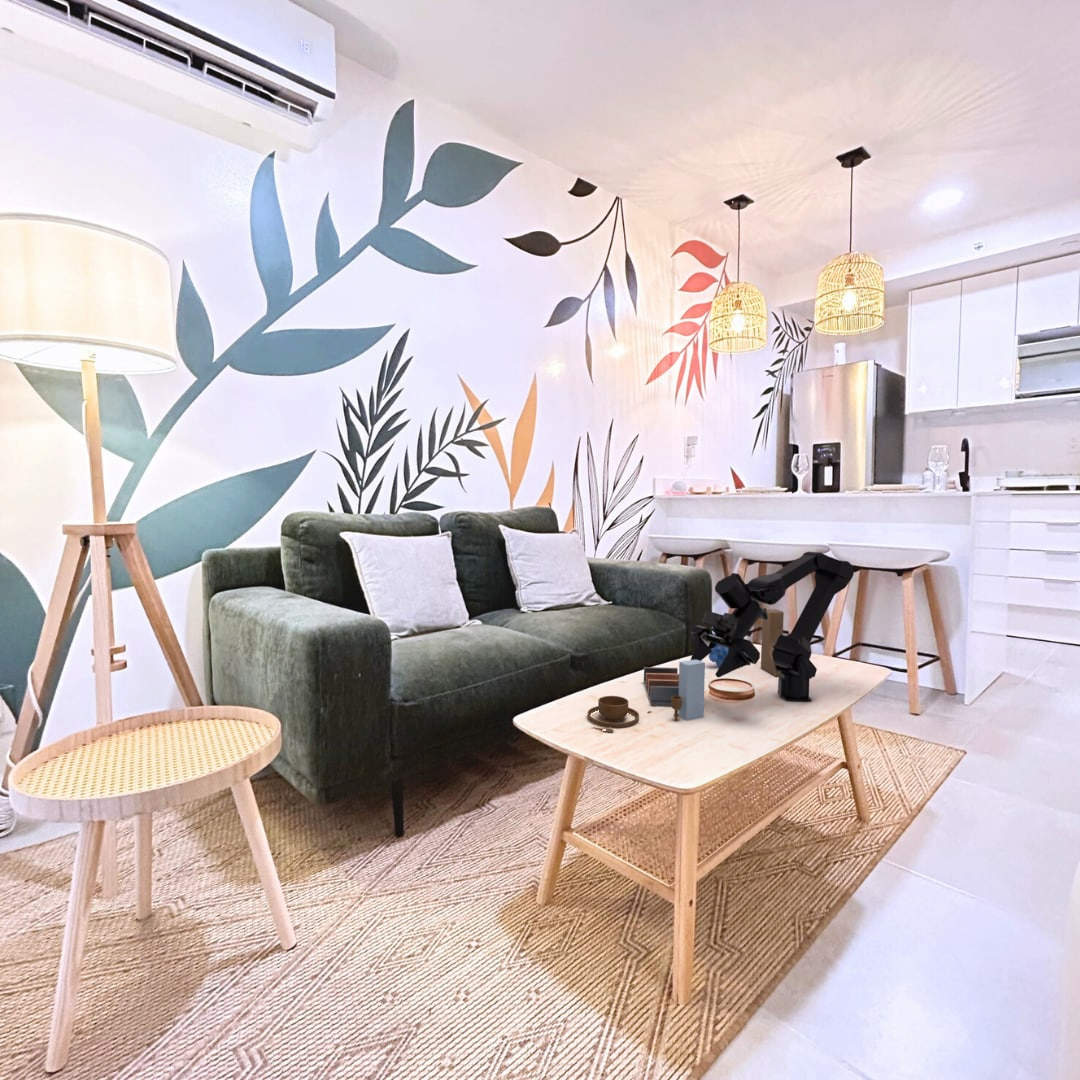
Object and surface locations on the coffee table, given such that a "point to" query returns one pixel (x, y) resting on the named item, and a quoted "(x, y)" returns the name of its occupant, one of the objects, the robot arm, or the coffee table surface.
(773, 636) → the wooden block
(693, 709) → the blue-gray rectangular block
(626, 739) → the coffee table surface
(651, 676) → the rack
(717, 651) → the grapes
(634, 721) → the place setting
